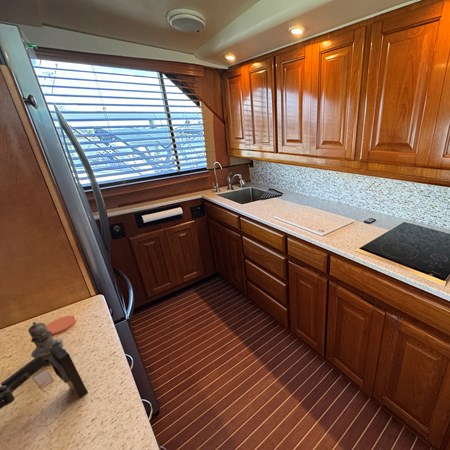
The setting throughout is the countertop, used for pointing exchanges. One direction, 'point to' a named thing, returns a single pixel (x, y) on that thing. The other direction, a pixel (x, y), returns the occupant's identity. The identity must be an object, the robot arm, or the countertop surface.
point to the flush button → (43, 379)
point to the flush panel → (67, 370)
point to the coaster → (61, 324)
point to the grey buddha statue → (43, 342)
